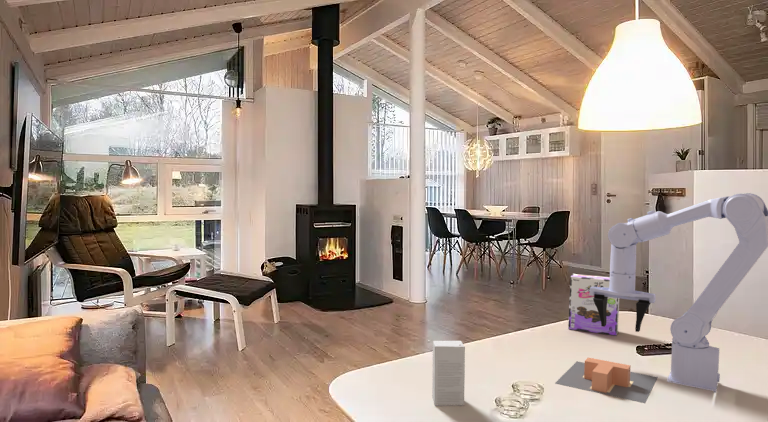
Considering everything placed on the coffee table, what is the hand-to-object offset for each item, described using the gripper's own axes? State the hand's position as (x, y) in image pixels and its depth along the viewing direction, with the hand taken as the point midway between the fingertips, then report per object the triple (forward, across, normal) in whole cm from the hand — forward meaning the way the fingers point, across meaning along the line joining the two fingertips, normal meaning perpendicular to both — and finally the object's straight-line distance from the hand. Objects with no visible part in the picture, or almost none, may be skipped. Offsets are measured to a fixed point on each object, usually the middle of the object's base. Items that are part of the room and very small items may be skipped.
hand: (620, 328), depth 132 cm
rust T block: (+9, 0, +17) cm, 19 cm away
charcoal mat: (+9, 0, +13) cm, 16 cm away
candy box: (+10, +13, -30) cm, 34 cm away
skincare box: (+10, +24, +44) cm, 51 cm away
